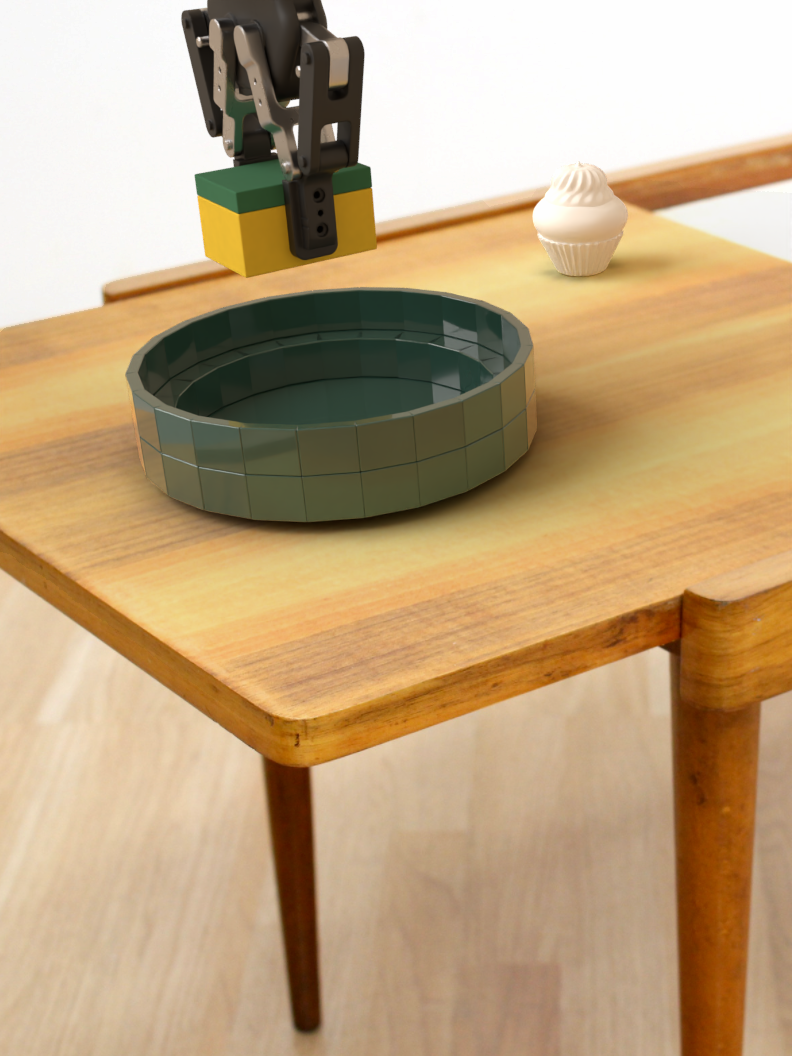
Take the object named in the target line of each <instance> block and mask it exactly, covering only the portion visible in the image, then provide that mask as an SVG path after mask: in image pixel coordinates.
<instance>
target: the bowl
mask: <svg viewBox="0 0 792 1056" xmlns="http://www.w3.org/2000/svg"><path fill="white" fill-rule="evenodd" d="M534 351H535V349H534V343H533V339H532V336H531V330H530V328H529V327H528V326H527V325H526V324H525V323H524V322H522V320H520V319H519V318H518V317H517V316H516V315H515V314H513V313H512V312H510V311H508V310H506V309H503V308H502V307H498V306H497V305H495V304H492V303H490V302H488V301H485V300H481V299H477V298H473V297H469V296H465V295H461V294H456V293H452V292H447V291H439V290H429V289H420V288H412V287H392V286H391V287H390V286H389V287H388V286H387V287H385V286H384V287H383V286H382V287H381V286H379V287H378V286H360V287H359V286H357V287H356V286H354V287H338V288H323V289H312V290H305V291H298V292H290V293H284V294H277V295H270V296H266V297H265V296H263V297H260V298H255V299H252V300H247V301H243V302H240V303H235V304H234V303H233V304H231V305H226V306H223V307H219V308H217V309H214V310H211V311H208V312H206V313H202V314H200V315H196V316H193V317H191V318H188V319H186V320H183V321H181V322H179V323H176V324H175V325H173V326H171V327H169V328H167V329H165V330H163V331H162V332H160V333H158V334H156V335H154V336H153V337H151V338H150V339H149V340H148V341H147V342H146V343H144V345H143V346H141V347H140V348H139V349H138V350H137V351H135V353H133V355H132V356H131V358H130V361H129V363H128V366H127V368H126V371H125V382H126V387H127V394H128V400H129V405H130V410H131V411H130V412H131V417H132V422H133V428H134V429H133V430H134V434H135V440H136V446H137V452H138V457H139V461H140V464H141V466H142V467H141V468H142V469H143V472H144V475H145V478H146V479H147V481H149V482H150V483H152V484H153V485H154V486H155V487H157V488H158V489H159V490H160V491H161V492H162V493H164V495H166V496H167V497H169V498H172V499H173V500H176V501H179V502H180V503H183V504H186V505H188V506H191V507H193V508H196V509H198V510H201V511H206V512H209V513H213V514H214V513H215V514H220V515H226V516H231V517H235V518H236V517H237V518H242V519H248V520H252V521H266V522H267V521H269V522H271V521H272V522H294V523H296V522H297V523H314V522H315V523H316V522H329V521H340V520H341V521H342V520H354V519H356V520H357V519H365V518H372V517H377V516H382V515H386V514H392V513H397V512H403V511H408V510H412V509H417V508H421V507H425V506H428V505H431V504H434V503H437V502H440V501H443V500H446V499H449V498H452V497H456V496H458V495H461V494H464V493H467V492H468V491H471V490H473V489H475V488H477V487H478V486H481V485H483V484H484V483H486V482H488V481H490V480H491V479H494V478H495V477H497V476H499V475H502V474H503V473H504V472H507V470H509V468H510V467H511V466H513V465H514V464H515V463H516V462H517V461H518V460H519V459H520V458H522V457H523V456H524V455H525V454H526V453H527V452H528V451H529V450H530V447H531V445H532V443H533V440H534V438H535V435H536V433H537V430H538V419H537V397H536V396H537V395H536V372H535V371H536V370H535V369H536V368H535V352H534Z"/></svg>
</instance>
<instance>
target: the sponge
mask: <svg viewBox="0 0 792 1056" xmlns="http://www.w3.org/2000/svg"><path fill="white" fill-rule="evenodd" d="M372 179H373V178H372V168H371V166H369V165H367V164H363V163H361V162H358V163H357V165H356V166H352V167H347V168H342V169H339V171H338V172H336V173H333V175H332V184H333V195H334V206H335V217H336V228H337V238H338V247H337V249H336V251H335V252H334V253H333V254H331V255H327V256H323V257H318V258H314V259H309V260H301V259H299V258H297V257H295V256H293V255H292V254H291V252H290V248H289V239H288V230H287V220H286V211H285V202H284V192H283V184H282V180H285V178H284V176H283V174H282V171H281V166H280V162H279V159H275V160H270V161H264V162H259V163H253V164H248V165H242V166H237V167H234V166H232V167H227V168H221V169H220V168H219V169H215V170H210V171H204V172H199V173H194V183H195V190H196V191H195V192H196V195H197V198H196V199H197V205H198V211H199V219H200V227H201V235H202V241H203V248H204V249H203V250H204V256H205V257H206V258H207V259H209V260H211V261H213V262H215V263H217V264H219V265H221V266H223V267H225V268H226V269H229V270H230V271H232V272H234V273H236V274H238V275H240V276H241V277H243V278H245V279H248V278H253V277H258V276H262V275H266V274H270V273H275V272H280V271H285V270H289V269H293V268H298V267H302V266H306V265H311V264H316V263H320V262H326V261H329V260H333V259H339V258H342V257H347V256H352V255H355V254H356V255H357V254H360V253H365V252H369V251H370V252H371V251H373V250H377V248H378V245H377V244H378V243H377V241H378V240H377V229H376V219H375V218H376V217H375V206H374V194H373V192H374V191H373V188H372V187H373V180H372Z"/></svg>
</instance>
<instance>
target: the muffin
mask: <svg viewBox="0 0 792 1056" xmlns="http://www.w3.org/2000/svg"><path fill="white" fill-rule="evenodd" d="M628 219H629V211H628V208H627V205H626V204H625V203H624V201H623V200H622V199H621V198H619V197H618V196H617V195H615V193H614V191H613V189H612V188H611V187H610V186H609V185H608V177H607V175H606V173H605V172H604V170H602V168H601V167H598V166H597V165H594V164H591V163H582V162H580V161H579V160H577V161H576V163H569V164H566V165H563V166H561V167H559V168H557V169H556V170H555V171H554V173H553V174H552V176H551V179H550V187H549V188H548V190H547V191H546V192H545V194H544V196H543V198H541V199H540V200H539V201H538V202H537V203H536V204H535V206H534V208H533V211H532V222H533V223H532V224H533V226H534V228H535V230H536V231H537V234H536V237H537V238H538V240H539V242H540V243H541V245H542V247H543V249H544V250H545V252H546V254H547V256H548V258H549V260H550V261H551V263H552V265H553V266H554V268H555V270H556V272H558V273H559V274H561V275H564V276H571V277H588V276H593V275H594V276H595V275H598V274H600V273H603V272H605V271H606V270H607V268H608V266H609V264H610V262H611V260H612V259H613V257H614V254H615V252H616V250H617V248H618V246H619V244H620V242H621V240H622V237H623V236H624V228H625V227H626V225H627V223H628Z"/></svg>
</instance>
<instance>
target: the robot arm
mask: <svg viewBox="0 0 792 1056" xmlns="http://www.w3.org/2000/svg"><path fill="white" fill-rule="evenodd" d="M180 17H181V18H180V21H181V26H182V30H183V36H184V40H185V43H186V47H187V52H188V57H189V60H190V64H191V69H192V74H193V77H194V81H195V86H196V90H197V95H198V98H199V103H200V106H201V111H202V116H203V119H204V125H205V128H206V131H207V133H208V135H209V137H211V138H219V137H221V138H222V146H223V149H224V152H225V154H226V156H227V157H228V158H233V159H232V163H233V167H237V166H242V165H248V164H253V163H259V162H264V161H270V160H275V159H279V162H280V166H281V171H282V174H283V176H284V178H285V180H282V184H283V192H284V202H285V211H286V220H287V230H288V239H289V248H290V252H291V254H292V255H293V256H295V257H297V258H299V259H301V260H309V259H314V258H318V257H323V256H327V255H331V254H333V253H334V252H335V251H336V249H337V247H338V238H337V228H336V217H335V206H334V195H333V184H332V175H333V173H336V172H338V171H339V169H342V168H347V167H352V166H356V165H357V163H359V154H360V139H361V122H362V121H361V120H362V104H363V88H364V71H365V58H366V57H365V55H366V53H365V47H364V43H363V42H362V40H361V38H360V37H359V36H357V35H353V36H352V35H351V36H346V37H342V36H341V37H337V36H336V35H335V34H334V33H332V31H330V30H329V29H328V19H327V15H326V12H325V9H324V5H323V2H322V0H206V7H202V8H193V9H192V8H191V9H186V10H185V9H184V10H183V11H182V12H181V16H180ZM295 100H298V105H294V106H289V105H290V102H291V101H295ZM333 124H337V125H336V127H337V128H336V137H335V132H334V128H333ZM294 126H297V140H296V137H295V133H294V132H295V131H294ZM296 141H297V142H296ZM275 150H276V152H275Z"/></svg>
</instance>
